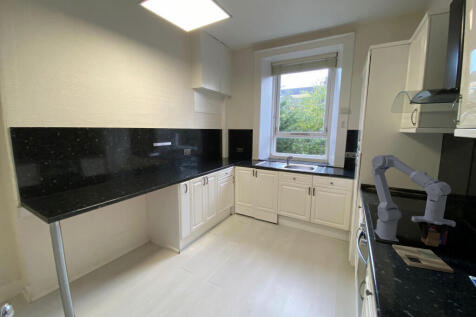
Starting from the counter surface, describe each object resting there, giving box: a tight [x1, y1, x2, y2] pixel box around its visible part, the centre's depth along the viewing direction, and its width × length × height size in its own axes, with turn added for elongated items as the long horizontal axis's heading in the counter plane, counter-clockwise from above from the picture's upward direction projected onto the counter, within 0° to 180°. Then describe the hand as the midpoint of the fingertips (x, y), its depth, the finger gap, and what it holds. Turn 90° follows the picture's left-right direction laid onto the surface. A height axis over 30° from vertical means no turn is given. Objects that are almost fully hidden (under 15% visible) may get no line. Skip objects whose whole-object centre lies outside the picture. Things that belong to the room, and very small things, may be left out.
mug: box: [429, 225, 449, 246], centre depth 101 cm, size 7×10×7 cm
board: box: [391, 244, 454, 274], centre depth 86 cm, size 14×15×2 cm
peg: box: [420, 229, 440, 248], centre depth 86 cm, size 4×4×6 cm
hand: (430, 238), depth 87 cm, fingers closed on peg, 4 cm apart
